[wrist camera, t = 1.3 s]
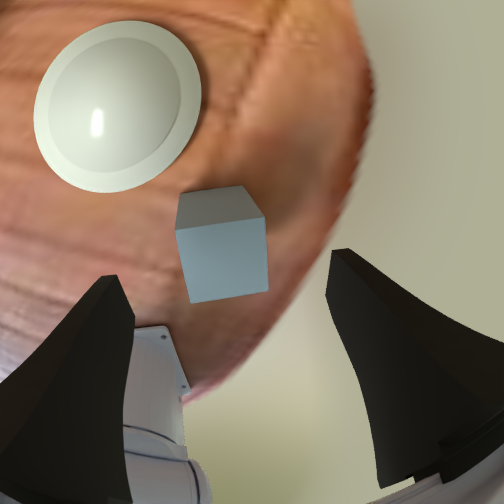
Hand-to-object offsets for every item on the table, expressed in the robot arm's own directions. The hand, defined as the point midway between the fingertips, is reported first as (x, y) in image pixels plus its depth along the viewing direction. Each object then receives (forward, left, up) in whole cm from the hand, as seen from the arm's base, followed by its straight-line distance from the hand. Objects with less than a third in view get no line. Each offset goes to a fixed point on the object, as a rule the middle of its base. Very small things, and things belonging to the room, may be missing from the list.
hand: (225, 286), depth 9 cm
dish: (+7, +5, -10) cm, 14 cm away
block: (-1, 0, -10) cm, 10 cm away
